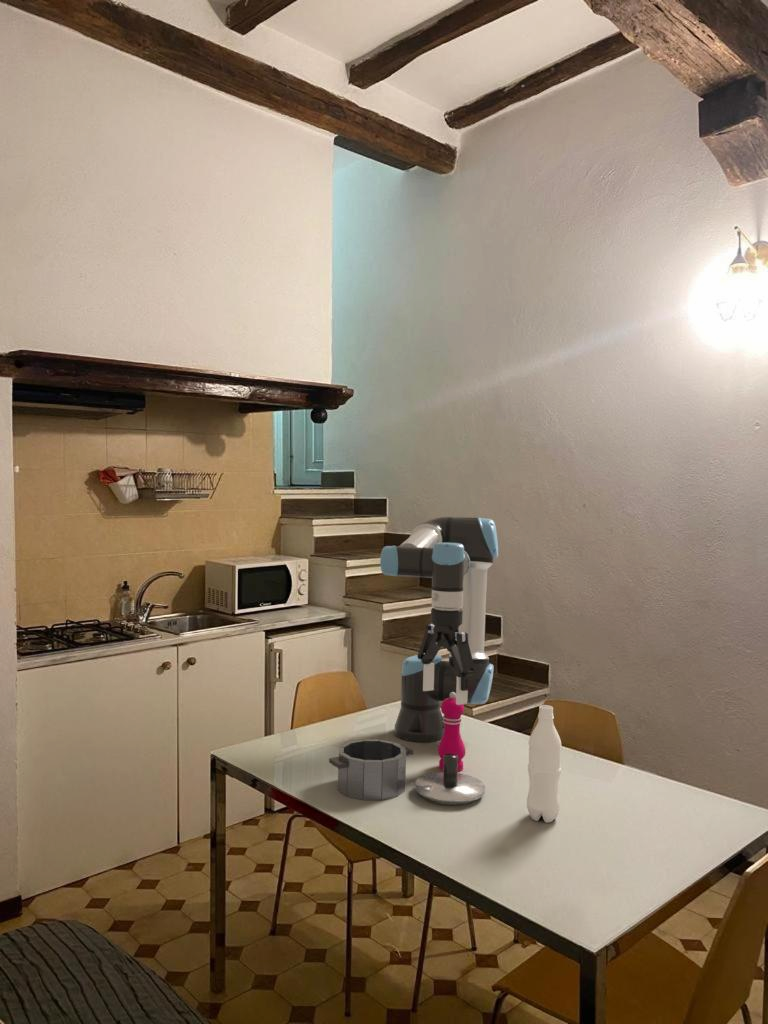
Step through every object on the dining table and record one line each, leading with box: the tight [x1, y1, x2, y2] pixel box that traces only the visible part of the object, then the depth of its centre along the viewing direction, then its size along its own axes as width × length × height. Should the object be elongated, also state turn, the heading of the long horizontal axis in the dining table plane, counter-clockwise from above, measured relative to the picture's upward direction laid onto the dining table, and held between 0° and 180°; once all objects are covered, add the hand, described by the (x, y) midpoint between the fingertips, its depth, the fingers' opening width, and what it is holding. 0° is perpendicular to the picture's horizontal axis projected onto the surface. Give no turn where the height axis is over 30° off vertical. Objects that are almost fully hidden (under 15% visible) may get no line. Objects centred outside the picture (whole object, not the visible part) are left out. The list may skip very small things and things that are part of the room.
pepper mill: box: [437, 692, 466, 772], centre depth 206 cm, size 7×7×20 cm
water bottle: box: [526, 704, 562, 824], centre depth 176 cm, size 7×7×25 cm
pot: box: [328, 739, 415, 801], centre depth 192 cm, size 21×16×9 cm
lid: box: [414, 753, 486, 806], centre depth 189 cm, size 17×17×10 cm
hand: (444, 697), depth 188 cm, fingers open, 13 cm apart
